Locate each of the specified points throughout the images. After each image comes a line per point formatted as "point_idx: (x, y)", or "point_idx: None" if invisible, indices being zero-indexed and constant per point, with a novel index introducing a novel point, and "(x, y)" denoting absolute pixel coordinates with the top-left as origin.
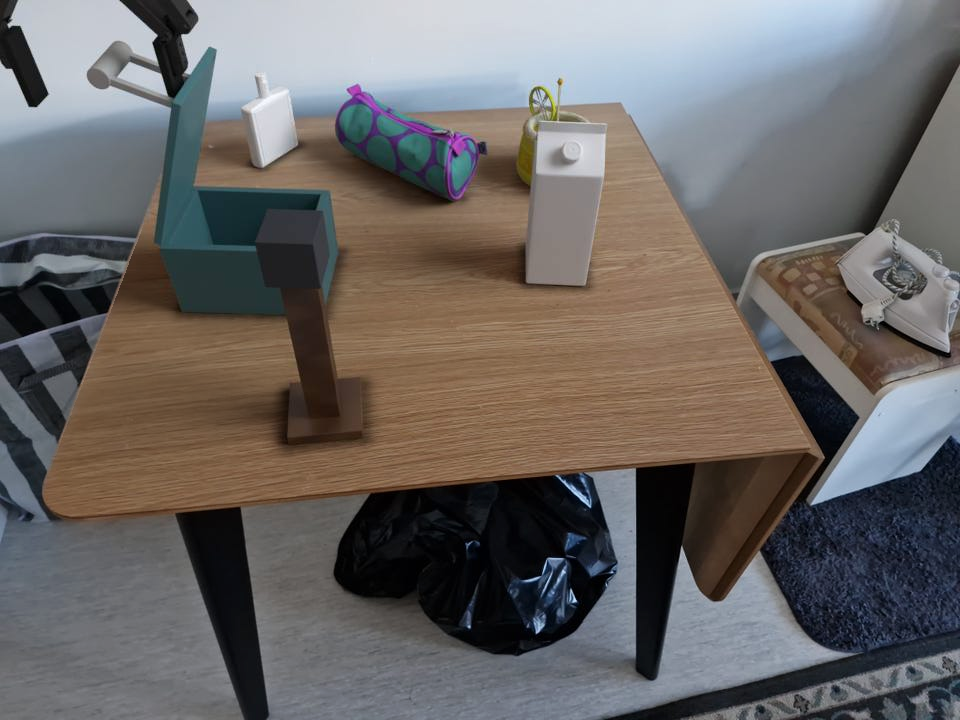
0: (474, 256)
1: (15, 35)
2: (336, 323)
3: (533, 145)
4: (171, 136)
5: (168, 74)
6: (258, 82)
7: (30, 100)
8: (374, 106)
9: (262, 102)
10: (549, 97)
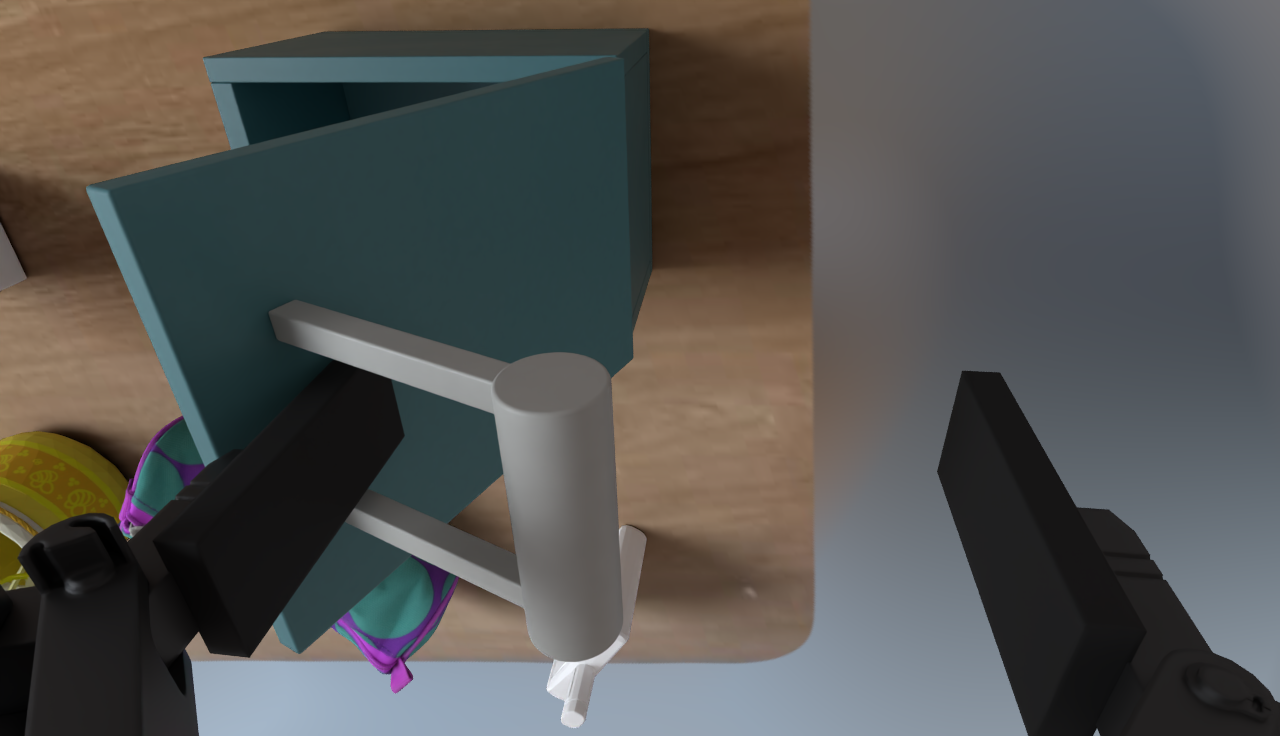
0: (111, 251)
1: (1047, 671)
2: (285, 7)
3: (25, 513)
4: (277, 143)
5: (266, 433)
6: (578, 699)
7: (986, 389)
8: (351, 631)
9: None
10: None
